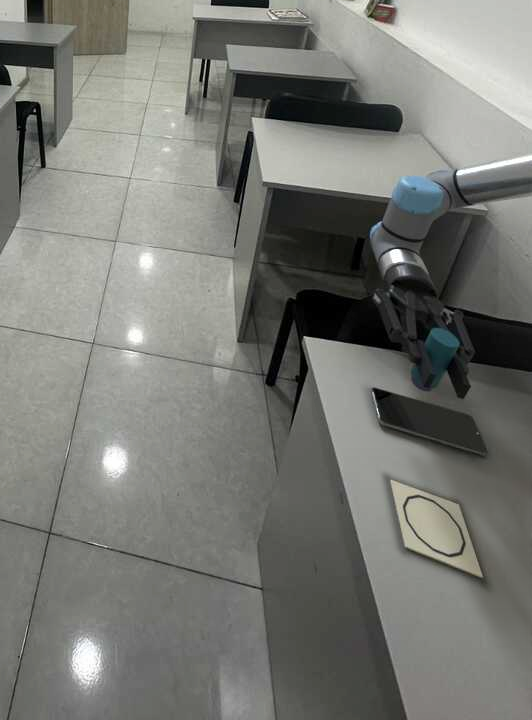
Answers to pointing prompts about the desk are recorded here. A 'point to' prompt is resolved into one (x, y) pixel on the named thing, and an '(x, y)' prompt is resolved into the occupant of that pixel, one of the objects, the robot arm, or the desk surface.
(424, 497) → the drawing sheet
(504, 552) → the desk surface
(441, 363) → the teal cylinder
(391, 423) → the smartphone
